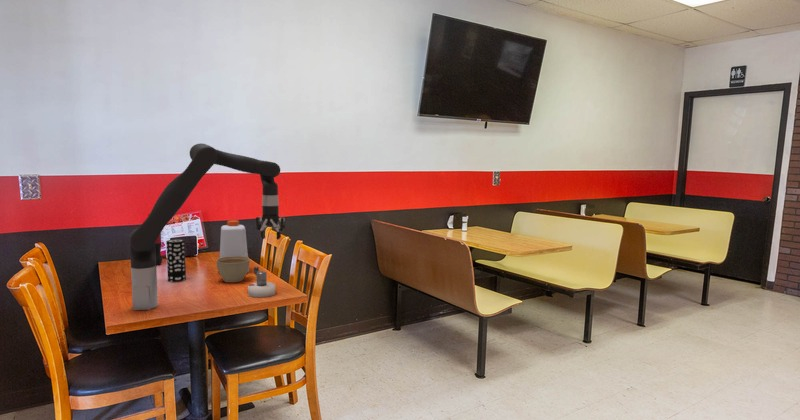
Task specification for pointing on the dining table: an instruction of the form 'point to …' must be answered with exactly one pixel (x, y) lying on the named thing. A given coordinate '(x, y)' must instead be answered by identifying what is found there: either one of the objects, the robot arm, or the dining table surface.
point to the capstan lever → (260, 277)
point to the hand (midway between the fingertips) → (270, 238)
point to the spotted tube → (176, 260)
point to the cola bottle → (158, 249)
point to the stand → (261, 290)
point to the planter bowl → (233, 268)
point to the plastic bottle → (233, 240)
